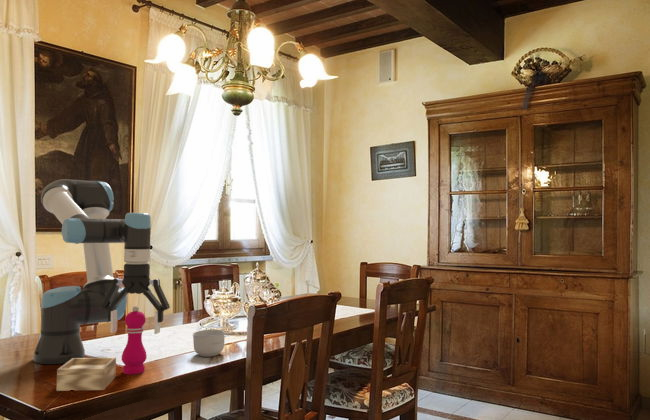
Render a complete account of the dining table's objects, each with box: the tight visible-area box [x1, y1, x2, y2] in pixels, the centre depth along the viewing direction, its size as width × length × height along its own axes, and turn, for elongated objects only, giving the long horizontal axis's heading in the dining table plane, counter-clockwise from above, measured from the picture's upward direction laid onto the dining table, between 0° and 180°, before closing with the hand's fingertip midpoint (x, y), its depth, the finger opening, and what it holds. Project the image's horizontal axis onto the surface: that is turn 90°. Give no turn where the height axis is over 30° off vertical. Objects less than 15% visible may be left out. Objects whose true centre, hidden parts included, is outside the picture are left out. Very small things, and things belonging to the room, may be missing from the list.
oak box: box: [56, 357, 117, 392], centre depth 150 cm, size 12×12×6 cm
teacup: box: [192, 328, 225, 358], centre depth 187 cm, size 14×11×8 cm
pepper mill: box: [121, 305, 147, 376], centre depth 163 cm, size 7×7×20 cm
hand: (135, 332), depth 163 cm, fingers open, 13 cm apart
